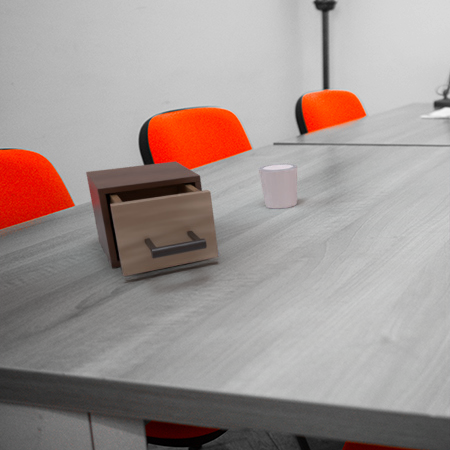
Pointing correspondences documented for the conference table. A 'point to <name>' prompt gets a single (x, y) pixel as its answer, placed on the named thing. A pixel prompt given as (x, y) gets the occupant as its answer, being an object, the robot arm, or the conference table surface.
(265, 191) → the white cup
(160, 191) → the drawer
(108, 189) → the cabinet
